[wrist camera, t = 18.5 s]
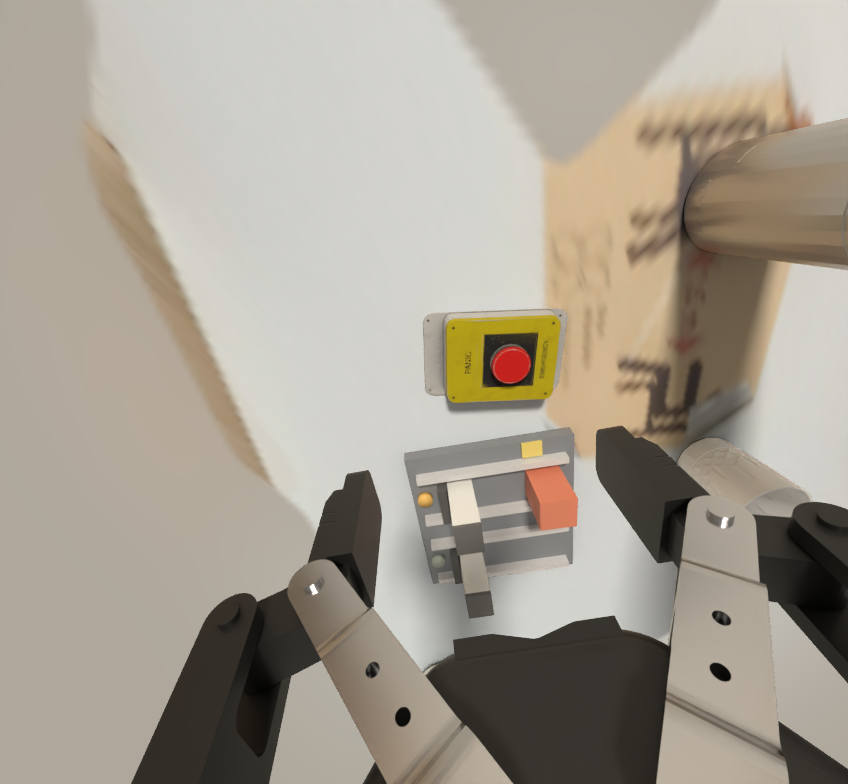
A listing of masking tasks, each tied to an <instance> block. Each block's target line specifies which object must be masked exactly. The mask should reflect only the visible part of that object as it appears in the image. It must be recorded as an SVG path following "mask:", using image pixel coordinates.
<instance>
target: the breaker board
mask: <svg viewBox="0 0 848 784" xmlns="http://www.w3.org/2000/svg"><path fill="white" fill-rule="evenodd" d="M404 461H405V465H406V470H407V474H408V478H409V482H410V487H411V491H412V495H413V499H414V504H415V508H416V512H417V516H418V521H419V525H420V529H421V534H422V538H423V542H424V546H425V551H426V555H427V559H428V563H429V568H430V572H431V576H432V580H433V584H434V583H439V584H445V583H452V582H455V584H459V583H463V576H462V569H461V562H460V555H459V556H458V555H457V549H456V544H455V538H454V533H453V527H452V519H451V511H450V504H449V496H448V489H447V482H453V481H459V480H466V479H471V481H472V485H473V489H474V494H475V498H476V503H477V507H478V512H479V516H480V521H481V525H482V532H483V540H484V547H485V552H482V553H483V558H484V563H485V568H486V572H487V577H494V576H501V575H508V574H515V573H522V572H529V571H536V570H544V569H551V568H558V567H565V566H569V564H573V527H566V528H558V529H551V530H543V531H540V528H539V526H538V523H537V521H536V518H535V516H534V514H533V511H532V509H531V506H530V504H529V501H528V499H527V496H526V492H525V470H528V469H534V468H541V467H547V466H554V465H559V467H560V469H561V471H562V472H563V474H564V476H565V477H566V479H567V481H568V483H569V484H570V486H571V488H572V489H573V485H574V433H573V432H572V430H571V429H570V428H569V427H568V428H561V429H555V430H549V431H542V432H536V433H530V434H523V435H517V436H511V437H505V438H498V439H492V440H486V441H479V442H473V443H467V444H460V445H454V446H448V447H441V448H435V449H429V450H422V451H416V452H410V453H405V458H404Z"/></svg>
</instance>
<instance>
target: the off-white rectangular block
mask: <svg viewBox="0 0 848 784" xmlns="http://www.w3.org/2000/svg"><path fill="white" fill-rule="evenodd" d="M447 489H448V496H449V504H450V511H451V519H452V527H453V533H454V538H455V544H456V549H457V555H458V556H459V555H466V554H473V553H480V552H485V547H484V540H483V532H482V525H481V521H480V516H479V512H478V507H477V503H476V498H475V494H474V489H473V485H472V481H471V479H466V480H459V481H453V482H447Z"/></svg>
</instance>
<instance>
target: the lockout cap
mask: <svg viewBox="0 0 848 784" xmlns="http://www.w3.org/2000/svg"><path fill="white" fill-rule="evenodd" d="M525 492H526V496H527V499H528V501H529V504H530V506H531V509H532V511H533V514H534V516H535V518H536V521H537V523H538V526H539V528H540V531H543V530H551V529H558V528H566V527H574V526H577V507H578V498H577V496H576V494H575V493H574V491H573V489H572V488H571V486H570V484H569V483H568V481H567V479H566V477H565V476H564V474H563V472H562V471H561V469H560V467H559V465H554V466H547V467H541V468H534V469H528V470H525Z"/></svg>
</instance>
